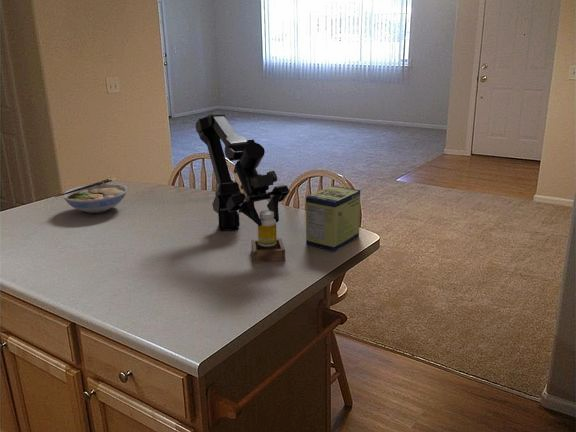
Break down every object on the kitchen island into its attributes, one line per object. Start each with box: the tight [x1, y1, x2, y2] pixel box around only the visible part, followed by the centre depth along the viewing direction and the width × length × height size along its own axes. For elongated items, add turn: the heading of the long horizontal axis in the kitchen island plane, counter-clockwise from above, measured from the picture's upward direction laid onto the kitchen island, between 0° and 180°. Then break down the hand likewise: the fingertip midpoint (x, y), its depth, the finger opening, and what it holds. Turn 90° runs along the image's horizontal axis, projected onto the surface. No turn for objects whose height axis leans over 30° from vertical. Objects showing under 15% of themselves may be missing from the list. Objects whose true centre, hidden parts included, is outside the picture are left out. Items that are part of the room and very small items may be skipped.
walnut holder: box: [250, 238, 286, 264], centre depth 154 cm, size 9×9×3 cm
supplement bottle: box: [257, 209, 277, 247], centre depth 152 cm, size 5×5×10 cm
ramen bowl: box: [54, 178, 128, 214], centre depth 196 cm, size 25×23×8 cm
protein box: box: [305, 185, 361, 252], centre depth 162 cm, size 10×16×16 cm
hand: (269, 223), depth 150 cm, fingers closed on supplement bottle, 5 cm apart
